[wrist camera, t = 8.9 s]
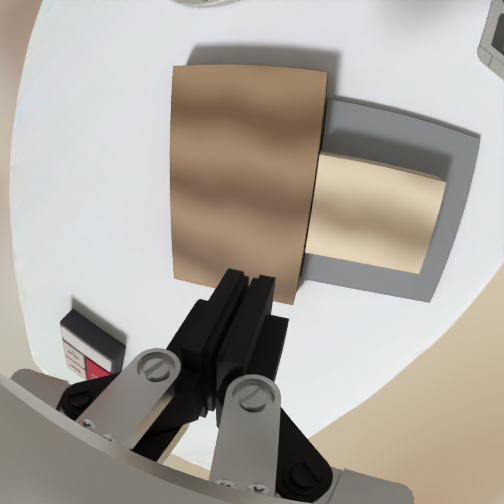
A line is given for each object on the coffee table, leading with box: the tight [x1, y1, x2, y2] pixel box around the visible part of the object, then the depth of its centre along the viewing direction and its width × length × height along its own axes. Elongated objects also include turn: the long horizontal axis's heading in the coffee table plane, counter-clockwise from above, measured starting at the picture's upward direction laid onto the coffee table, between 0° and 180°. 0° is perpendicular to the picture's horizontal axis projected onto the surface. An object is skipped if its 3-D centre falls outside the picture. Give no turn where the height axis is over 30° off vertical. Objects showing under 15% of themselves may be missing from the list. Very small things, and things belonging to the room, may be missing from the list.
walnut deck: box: [170, 64, 328, 305], centre depth 25 cm, size 20×12×2 cm, turn 176°
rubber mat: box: [301, 99, 480, 303], centre depth 23 cm, size 16×13×1 cm
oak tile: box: [305, 151, 446, 274], centre depth 23 cm, size 8×10×2 cm
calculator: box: [60, 309, 126, 380], centre depth 44 cm, size 11×4×15 cm
